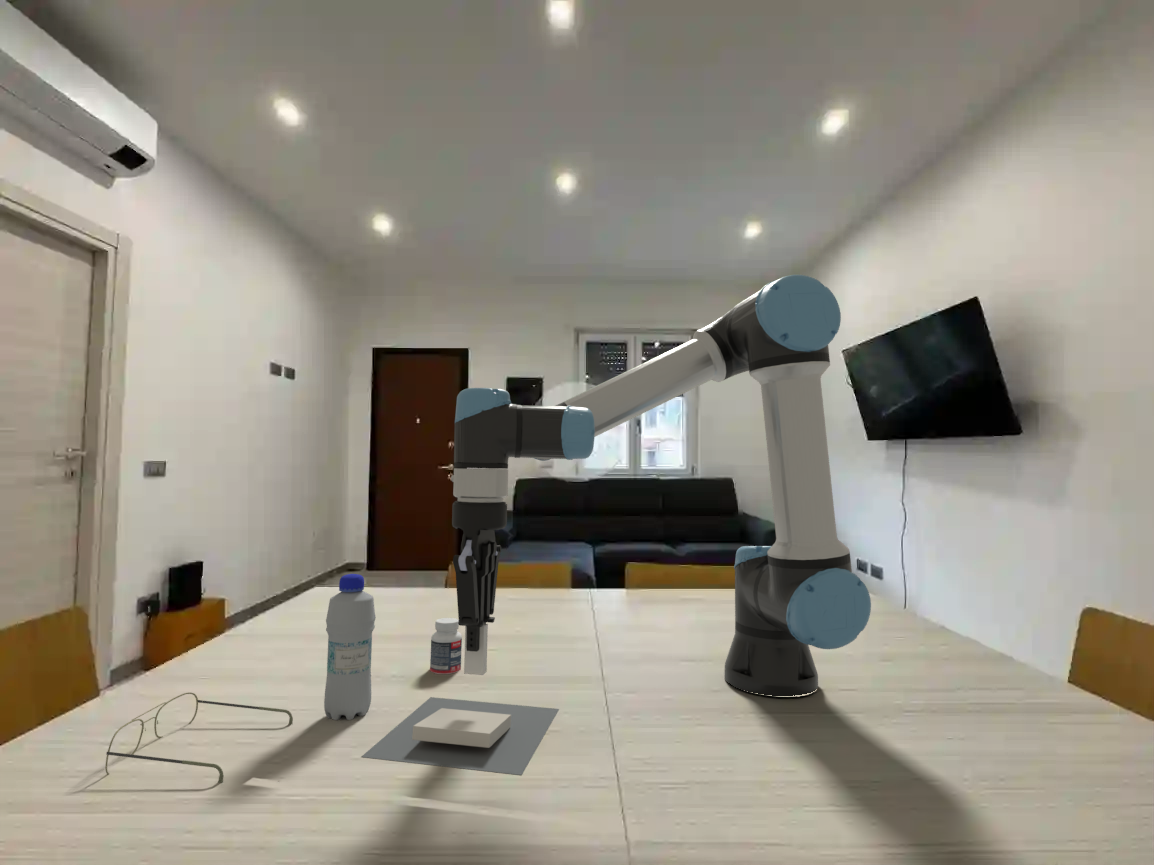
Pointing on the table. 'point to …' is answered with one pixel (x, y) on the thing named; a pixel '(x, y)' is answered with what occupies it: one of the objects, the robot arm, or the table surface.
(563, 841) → the table surface
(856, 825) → the table surface
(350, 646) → the bottle
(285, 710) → the eyeglasses
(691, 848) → the table surface
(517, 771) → the mat
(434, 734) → the tile
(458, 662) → the pill bottle
